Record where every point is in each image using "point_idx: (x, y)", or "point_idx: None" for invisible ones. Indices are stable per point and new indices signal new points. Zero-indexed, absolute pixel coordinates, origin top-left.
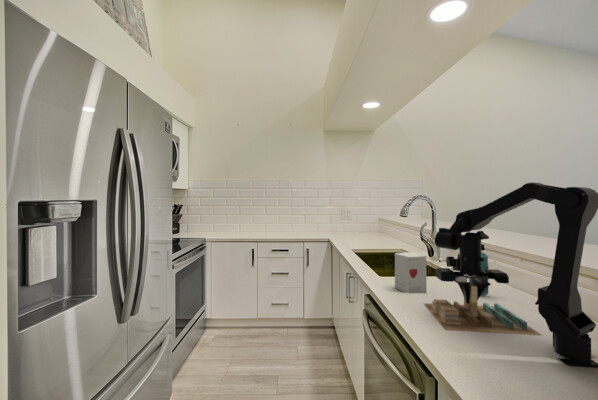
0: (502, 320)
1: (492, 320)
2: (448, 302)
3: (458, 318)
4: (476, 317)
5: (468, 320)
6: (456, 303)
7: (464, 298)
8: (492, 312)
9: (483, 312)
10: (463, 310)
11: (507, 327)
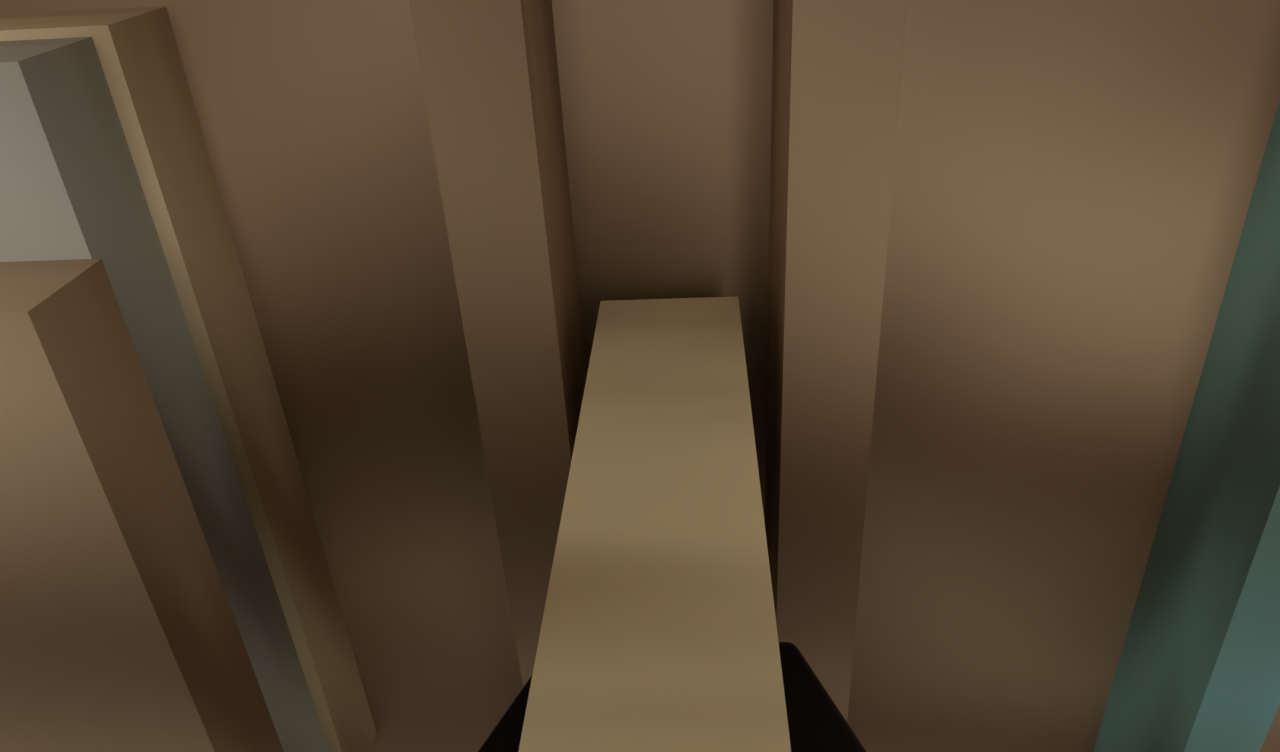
0: (1150, 676)
1: (1028, 545)
2: (92, 539)
3: (339, 739)
4: (765, 494)
5: None
6: (446, 84)
7: (500, 721)
8: (1256, 382)
9: (1145, 144)
10: (500, 544)
11: (1088, 741)
